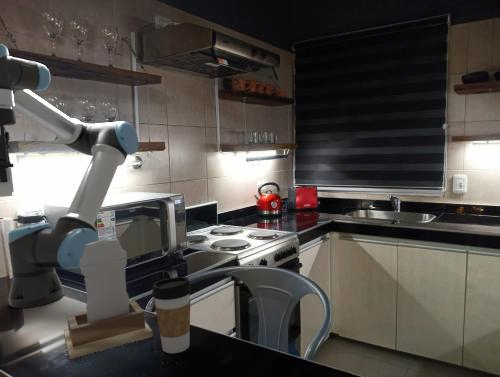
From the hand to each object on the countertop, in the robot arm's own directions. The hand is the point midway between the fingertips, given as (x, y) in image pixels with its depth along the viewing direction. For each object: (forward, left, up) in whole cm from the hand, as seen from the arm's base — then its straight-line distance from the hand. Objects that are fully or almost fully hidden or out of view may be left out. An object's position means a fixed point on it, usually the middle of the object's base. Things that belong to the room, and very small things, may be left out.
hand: (6, 194), depth 102 cm
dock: (+19, +18, -35) cm, 43 cm away
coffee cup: (+34, +30, -35) cm, 57 cm away
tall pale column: (+19, +19, -33) cm, 43 cm away
